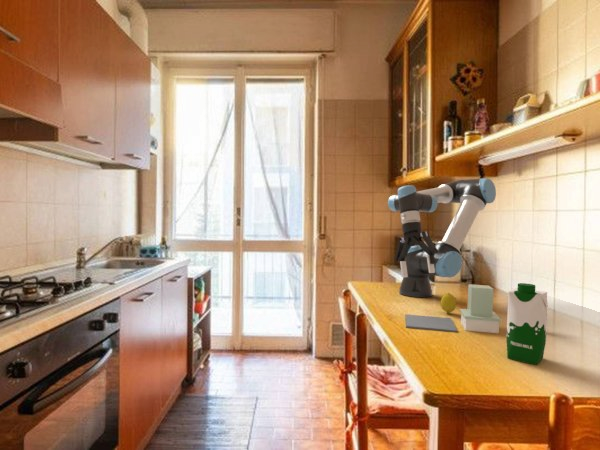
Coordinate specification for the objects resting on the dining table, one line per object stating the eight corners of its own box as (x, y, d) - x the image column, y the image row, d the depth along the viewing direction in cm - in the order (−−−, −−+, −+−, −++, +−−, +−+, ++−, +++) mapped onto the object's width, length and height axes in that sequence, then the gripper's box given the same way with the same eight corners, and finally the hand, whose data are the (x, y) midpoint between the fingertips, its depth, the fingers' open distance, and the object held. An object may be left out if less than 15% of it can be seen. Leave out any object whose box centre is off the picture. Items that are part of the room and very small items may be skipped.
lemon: (457, 315, 150) (457, 294, 150) (441, 314, 151) (442, 293, 151) (454, 312, 155) (455, 291, 155) (439, 311, 156) (440, 291, 156)
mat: (405, 315, 148) (405, 314, 148) (450, 319, 144) (450, 318, 144) (406, 327, 132) (406, 325, 132) (457, 332, 128) (457, 330, 128)
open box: (460, 322, 140) (461, 311, 140) (491, 325, 138) (492, 313, 138) (465, 330, 130) (466, 318, 130) (498, 333, 128) (499, 321, 128)
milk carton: (502, 358, 105) (505, 283, 105) (511, 350, 112) (514, 279, 112) (540, 367, 100) (544, 288, 99) (547, 358, 106) (551, 283, 106)
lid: (459, 310, 141) (460, 282, 140) (493, 313, 138) (494, 284, 138) (464, 318, 130) (465, 288, 130) (501, 321, 127) (502, 290, 127)
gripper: (382, 229, 170) (388, 278, 166) (429, 214, 150) (438, 270, 145) (394, 230, 174) (400, 278, 170) (442, 216, 154) (450, 271, 150)
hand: (418, 275), depth 158 cm, fingers open, 13 cm apart
